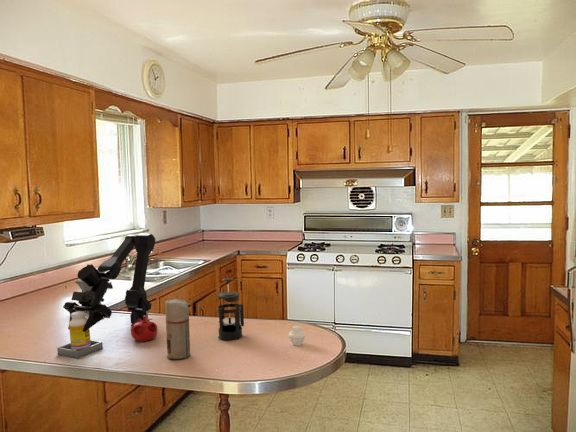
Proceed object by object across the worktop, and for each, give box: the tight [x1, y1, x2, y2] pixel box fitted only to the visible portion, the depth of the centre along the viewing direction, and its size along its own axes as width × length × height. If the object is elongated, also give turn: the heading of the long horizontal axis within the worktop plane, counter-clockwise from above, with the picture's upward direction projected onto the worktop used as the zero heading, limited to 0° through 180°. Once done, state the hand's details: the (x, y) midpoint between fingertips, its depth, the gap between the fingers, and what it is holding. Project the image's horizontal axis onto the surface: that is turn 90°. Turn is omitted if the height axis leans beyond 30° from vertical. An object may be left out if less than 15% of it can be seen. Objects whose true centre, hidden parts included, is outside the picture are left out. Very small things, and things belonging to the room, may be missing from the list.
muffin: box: [288, 325, 306, 347], centre depth 173 cm, size 6×6×7 cm
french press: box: [216, 277, 245, 342], centre depth 183 cm, size 12×9×23 cm
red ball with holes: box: [130, 316, 158, 343], centre depth 184 cm, size 10×10×9 cm
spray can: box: [164, 298, 191, 360], centre depth 165 cm, size 8×8×20 cm
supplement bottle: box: [68, 311, 91, 350], centre depth 173 cm, size 7×7×13 cm
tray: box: [57, 339, 104, 360], centre depth 173 cm, size 11×11×2 cm
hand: (76, 330), depth 172 cm, fingers closed on supplement bottle, 6 cm apart
